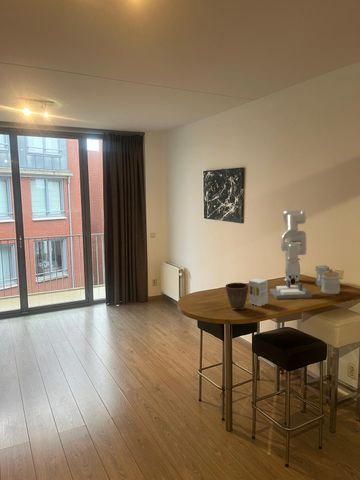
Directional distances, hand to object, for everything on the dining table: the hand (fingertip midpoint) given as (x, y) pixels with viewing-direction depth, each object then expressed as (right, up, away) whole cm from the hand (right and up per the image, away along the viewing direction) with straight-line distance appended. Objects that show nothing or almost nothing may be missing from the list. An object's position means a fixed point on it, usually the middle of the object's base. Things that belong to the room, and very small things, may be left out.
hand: (292, 284), depth 270 cm
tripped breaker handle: (-4, -2, 0) cm, 4 cm away
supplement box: (-31, -11, -22) cm, 40 cm away
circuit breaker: (+32, -3, +18) cm, 37 cm away
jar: (+28, -6, -2) cm, 28 cm away
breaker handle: (+2, -3, -10) cm, 10 cm away
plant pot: (-47, -13, -30) cm, 57 cm away
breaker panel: (-3, -7, -4) cm, 9 cm away
